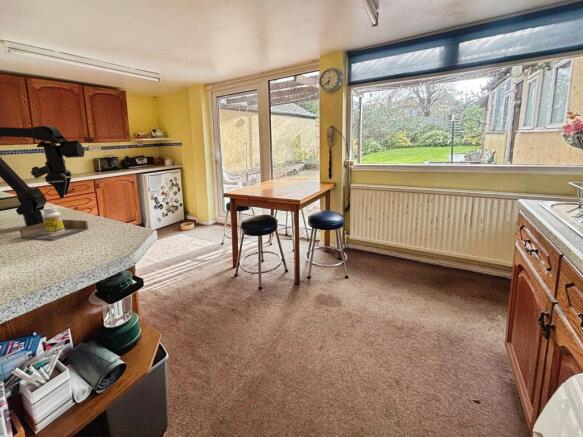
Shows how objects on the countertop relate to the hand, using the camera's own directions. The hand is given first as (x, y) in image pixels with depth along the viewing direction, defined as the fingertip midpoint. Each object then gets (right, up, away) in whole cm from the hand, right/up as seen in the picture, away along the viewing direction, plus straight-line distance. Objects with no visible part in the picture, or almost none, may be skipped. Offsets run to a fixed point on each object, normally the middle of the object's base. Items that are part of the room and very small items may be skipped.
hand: (63, 196), depth 128 cm
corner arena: (+5, -15, -10) cm, 19 cm away
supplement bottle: (+5, -15, -11) cm, 19 cm away
